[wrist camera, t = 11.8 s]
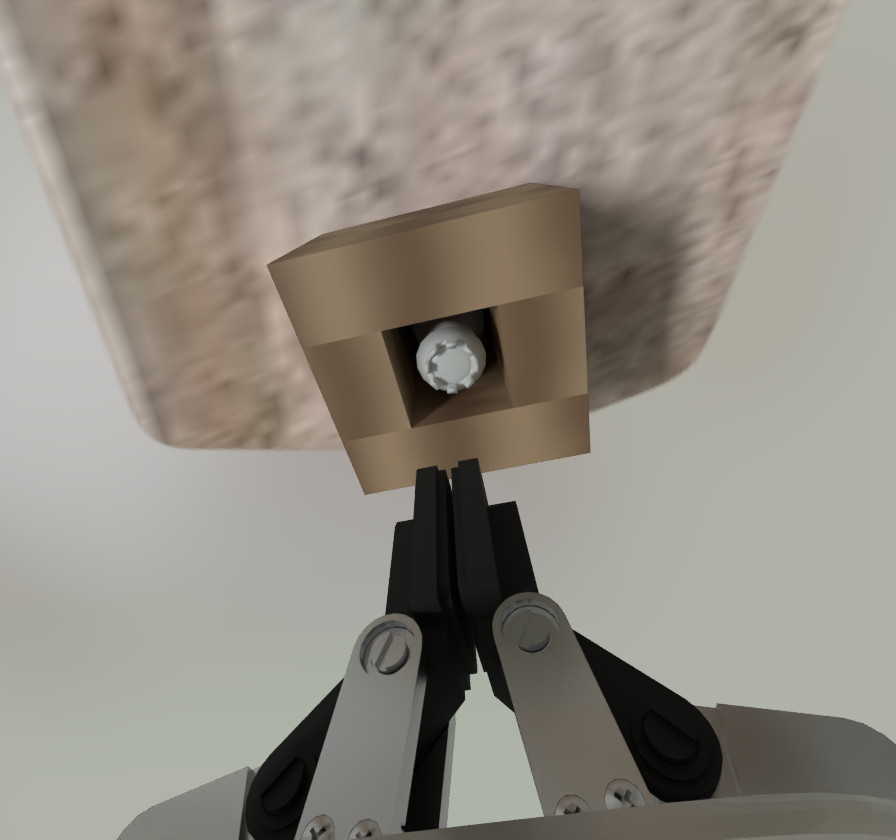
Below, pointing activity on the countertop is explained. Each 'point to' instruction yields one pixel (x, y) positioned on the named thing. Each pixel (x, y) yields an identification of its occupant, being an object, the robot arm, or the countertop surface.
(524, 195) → the socket block
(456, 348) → the rook chess piece
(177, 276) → the countertop surface
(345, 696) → the robot arm
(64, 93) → the countertop surface
